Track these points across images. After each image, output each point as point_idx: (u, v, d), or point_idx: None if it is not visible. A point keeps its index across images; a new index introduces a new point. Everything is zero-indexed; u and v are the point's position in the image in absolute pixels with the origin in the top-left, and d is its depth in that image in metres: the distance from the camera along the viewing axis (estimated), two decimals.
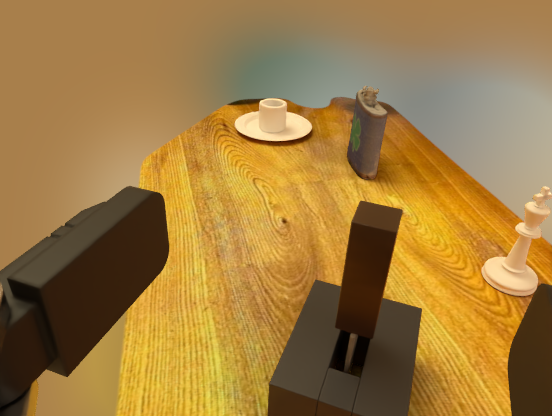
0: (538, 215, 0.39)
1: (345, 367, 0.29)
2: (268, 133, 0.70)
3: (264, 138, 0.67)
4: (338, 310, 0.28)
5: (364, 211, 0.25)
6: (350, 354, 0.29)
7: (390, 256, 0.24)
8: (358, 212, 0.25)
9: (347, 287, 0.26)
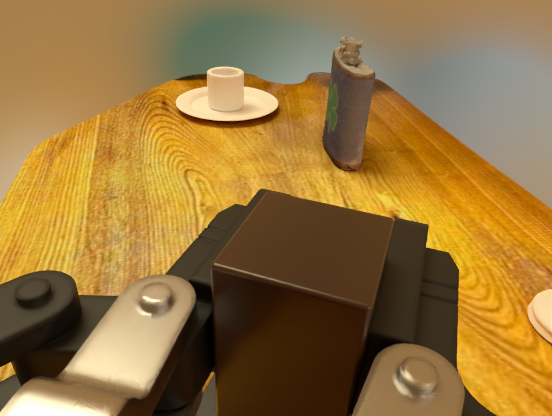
0: None
1: None
2: (219, 112, 0.53)
3: (211, 117, 0.50)
4: None
5: (268, 225, 0.08)
6: None
7: (352, 384, 0.07)
8: (247, 228, 0.07)
9: None
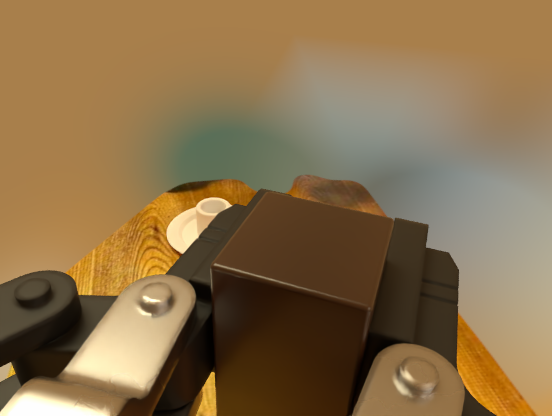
0: None
1: None
2: None
3: None
4: None
5: (268, 225, 0.08)
6: None
7: (352, 385, 0.07)
8: (247, 229, 0.07)
9: None
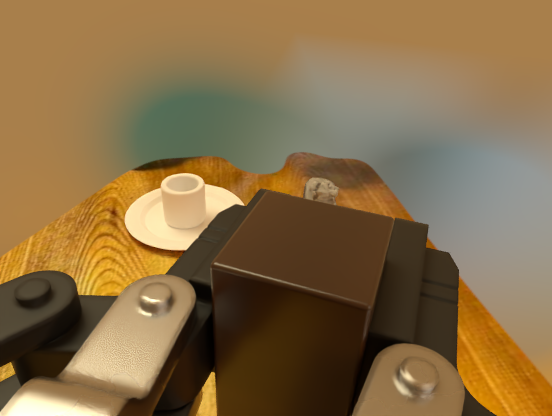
0: None
1: None
2: (176, 230, 0.45)
3: (163, 245, 0.42)
4: None
5: (268, 224, 0.08)
6: None
7: (352, 383, 0.07)
8: (247, 228, 0.07)
9: None
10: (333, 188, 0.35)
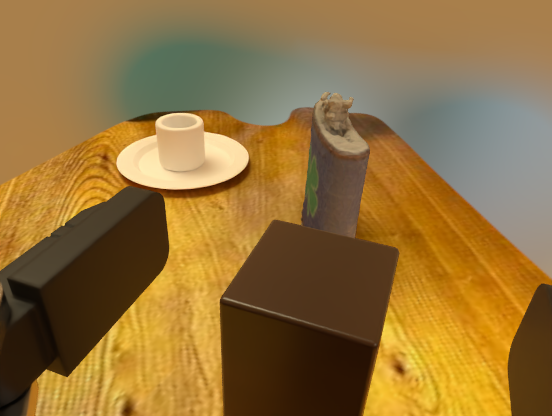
0: None
1: None
2: (172, 173, 0.41)
3: (158, 184, 0.38)
4: None
5: (275, 256, 0.08)
6: None
7: (358, 415, 0.07)
8: (255, 260, 0.08)
9: None
10: None
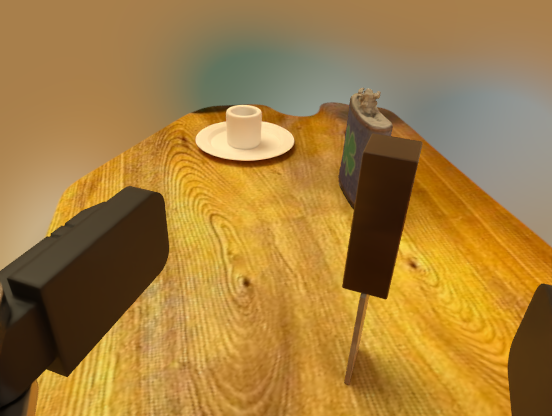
0: None
1: (354, 335, 0.25)
2: (238, 150, 0.54)
3: (231, 157, 0.52)
4: (346, 265, 0.24)
5: (377, 142, 0.21)
6: (360, 318, 0.25)
7: (409, 193, 0.20)
8: (370, 143, 0.21)
9: (357, 235, 0.23)
10: None
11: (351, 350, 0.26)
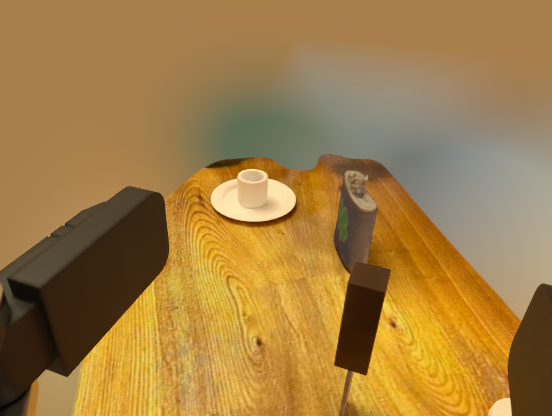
0: None
1: (343, 398, 0.34)
2: (247, 209, 0.63)
3: (242, 218, 0.60)
4: (337, 351, 0.32)
5: (358, 272, 0.30)
6: (347, 387, 0.34)
7: (380, 310, 0.29)
8: (353, 273, 0.30)
9: (344, 333, 0.31)
10: (363, 177, 0.54)
11: (341, 408, 0.35)
